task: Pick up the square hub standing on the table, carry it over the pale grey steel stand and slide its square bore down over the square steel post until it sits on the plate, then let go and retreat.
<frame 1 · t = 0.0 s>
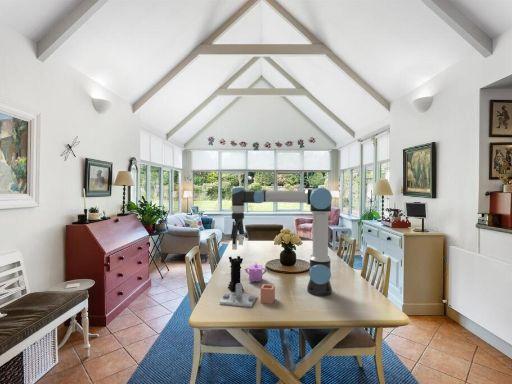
hand: (237, 247, 172), 28 cm above the table, fingers open, 13 cm apart
hub: (267, 300, 161), on the table
teapot: (255, 280, 195), on the table
chess piece: (235, 289, 179), on the table
stand: (238, 300, 160), on the table
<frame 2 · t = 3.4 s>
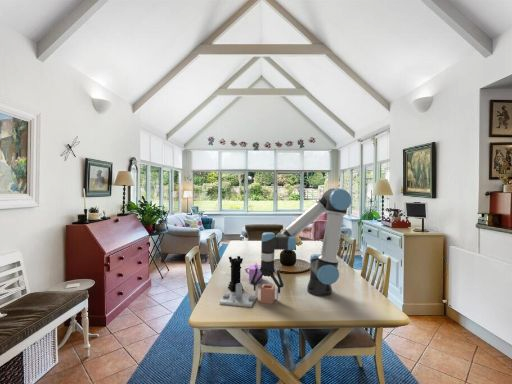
hand: (266, 297, 161), 2 cm above the table, fingers open, 11 cm apart
nothing on the table moved.
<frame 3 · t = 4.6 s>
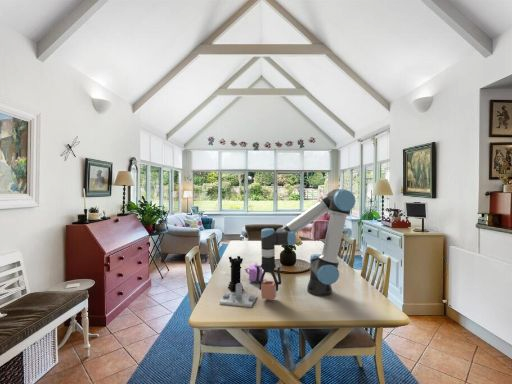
hand: (268, 295, 161), 3 cm above the table, fingers closed on hub, 7 cm apart
hub: (268, 296, 161), point 2 cm above the table, touching gripper
everything else where it was.
when the fingers open (3 cm above the table, at t = 9.0 s): hub drops 2 cm, resting on stand.
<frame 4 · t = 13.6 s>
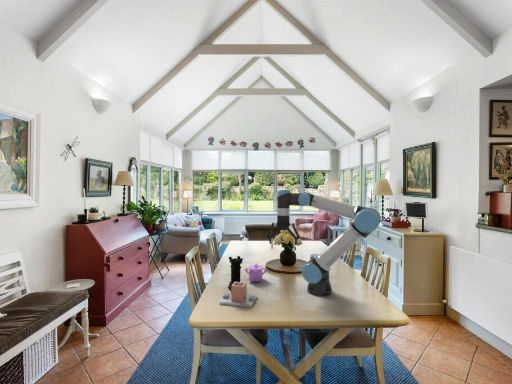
hand: (283, 249, 172), 27 cm above the table, fingers open, 13 cm apart
hub: (238, 298, 160), point 1 cm above the table, touching stand
everything else where it was.
at the end: hub 0.0 cm off-centre on the stand, point 1.5 cm above the stand's base; hub tilted 0°; the gripper is holding nothing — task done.
